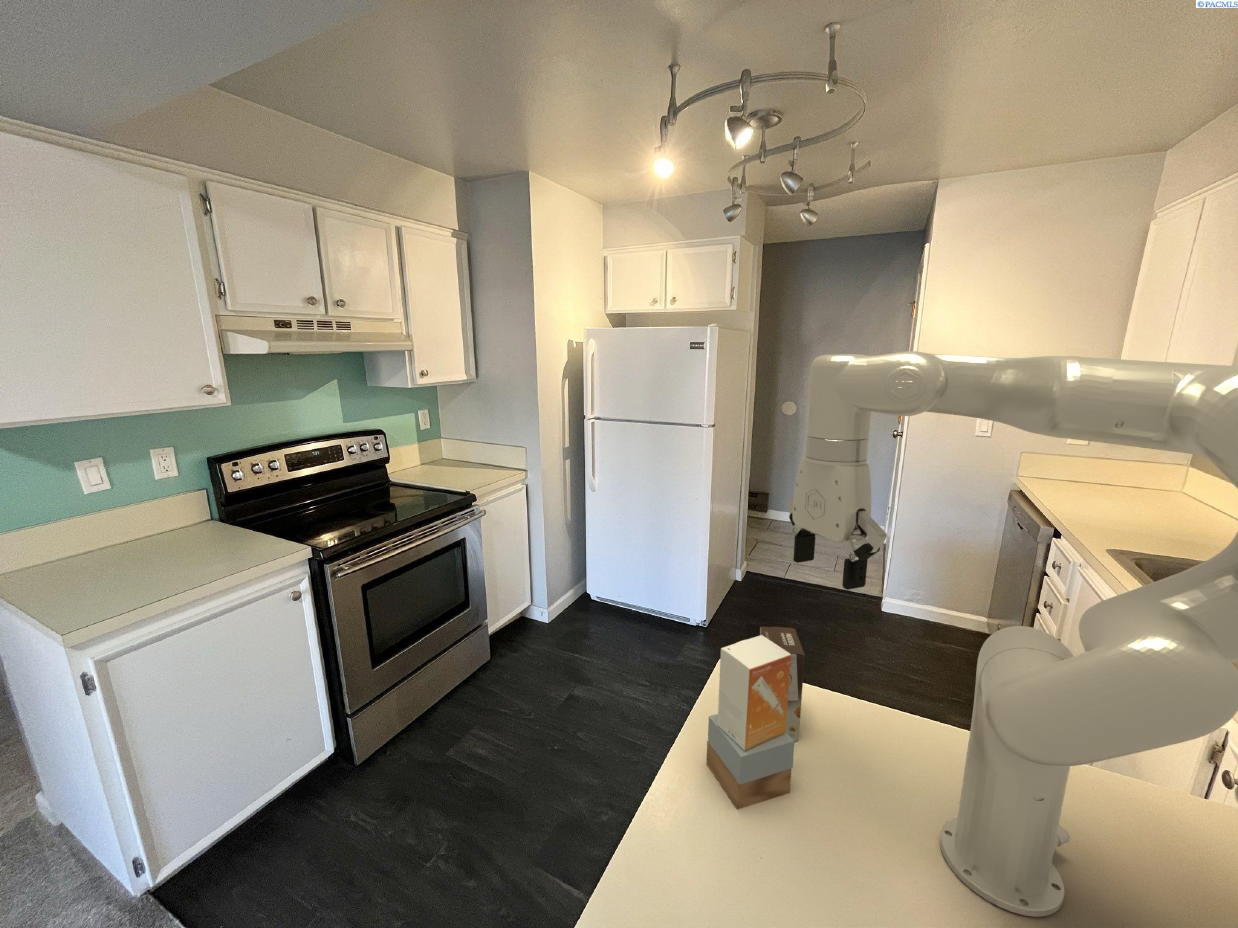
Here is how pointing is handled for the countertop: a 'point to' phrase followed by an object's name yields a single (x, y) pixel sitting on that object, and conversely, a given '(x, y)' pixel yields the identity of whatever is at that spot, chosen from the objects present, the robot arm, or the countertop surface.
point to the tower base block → (751, 790)
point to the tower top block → (751, 754)
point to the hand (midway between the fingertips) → (827, 573)
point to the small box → (753, 691)
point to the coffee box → (792, 645)
